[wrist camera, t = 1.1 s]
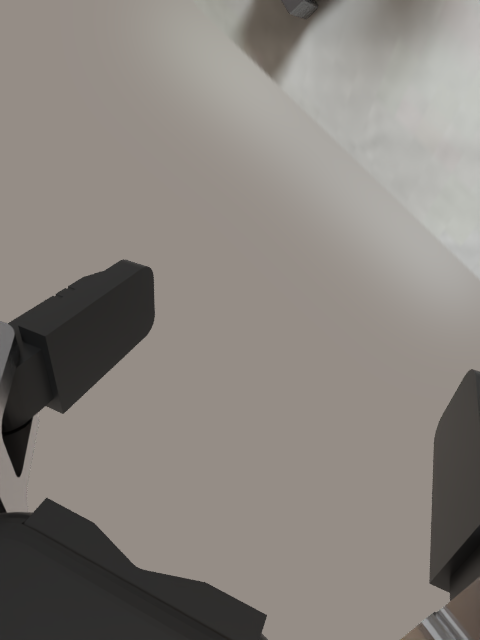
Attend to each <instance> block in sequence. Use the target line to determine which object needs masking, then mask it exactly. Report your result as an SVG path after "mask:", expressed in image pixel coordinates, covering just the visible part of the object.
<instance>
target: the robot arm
mask: <svg viewBox="0 0 480 640" xmlns="http://www.w3.org/2000/svg"><path fill="white" fill-rule="evenodd" d="M153 278H154V277H153V272H152V270H151V268H150V267H147V266H144V265H141V264H137V263H134V262H131V261H128V260H121V261H119V262H118V263H116V264H114V265H113V266H111V267H110V268H108V269H106V270H105V271H102V272H99V273H95V274H93V275H89V276H86V277H83V278H81V279H79V280H78V281H76V282H75V283H73V284H71V285H70V286H68V289H66V288H65V289H63V290H62V291H60V292H58V293H57V294H56V296H55V297H54V296H52V297H50V298H49V299H47V300H45V301H44V302H42V303H40V304H39V305H37V306H36V307H34V308H32V309H31V310H29V311H28V312H26V313H24V314H23V315H21V316H19V317H18V318H16V319H14V320H13V321H11V322H9V323H8V324H7V323H5V322H2V321H0V640H268V639H267V638H266V637H265V636H264V635H263V634H262V633H261V632H262V629H263V626H264V623H265V620H266V617H267V615H265V614H264V613H262V612H260V611H258V610H256V609H254V608H252V607H250V606H249V605H247V604H245V603H243V602H241V601H239V600H237V599H235V598H234V597H232V596H230V595H228V594H226V593H224V592H222V591H220V590H219V589H217V588H215V587H213V586H211V585H209V584H207V583H205V582H200V581H195V580H190V579H185V578H181V577H176V576H171V575H166V574H161V573H156V572H151V571H147V570H142V569H140V568H138V567H136V566H135V565H134V564H132V563H131V562H130V560H129V559H128V558H127V557H126V556H125V555H124V554H123V553H122V552H121V551H120V550H119V549H118V548H117V547H116V546H115V545H114V544H113V542H112V541H110V539H109V538H108V537H107V536H106V535H105V534H104V533H103V532H102V531H101V530H100V529H99V528H98V527H97V526H96V525H95V524H94V523H93V522H91V521H89V520H87V519H86V518H84V517H82V516H80V515H78V514H76V513H74V512H72V511H71V510H69V509H67V508H65V507H63V506H61V505H59V504H57V503H55V502H54V501H52V500H50V499H48V498H46V499H45V500H44V501H43V502H42V504H41V505H40V506H39V507H38V508H37V509H36V510H35V511H34V513H30V512H28V506H27V485H28V479H29V473H30V468H31V463H32V457H33V452H34V446H35V440H36V435H37V430H38V424H39V417H38V412H39V411H40V410H41V409H42V408H43V407H44V406H47V407H49V408H52V409H54V410H56V411H58V412H60V413H62V414H63V413H65V412H66V411H67V410H68V409H69V408H70V407H71V406H72V405H73V404H74V403H75V402H76V401H77V400H79V399H80V398H81V397H82V396H83V395H84V394H85V393H86V392H87V391H88V390H89V389H90V388H91V387H92V386H93V385H94V384H96V383H97V382H98V381H99V380H100V379H101V378H102V377H103V376H104V375H105V374H106V373H107V372H108V371H109V370H110V369H112V368H113V367H114V366H115V365H116V364H117V363H118V362H119V361H120V360H121V359H122V358H123V357H124V356H125V355H126V354H128V352H130V351H131V350H132V349H133V348H134V347H135V346H136V345H137V344H138V343H139V342H140V341H141V340H142V339H143V338H145V337H146V336H147V334H148V333H149V331H150V330H151V328H152V325H153V322H154V317H155V310H154V279H153ZM430 584H432V585H434V586H436V587H438V588H441V589H443V590H445V591H447V592H449V593H450V602H449V603H448V604H447V605H445V606H444V607H443V608H442V609H440V610H439V611H438V612H434V613H433V614H431V615H430V616H428V617H427V618H426V619H425V620H423V621H422V622H421V623H420V624H418V625H417V626H416V627H415V628H414V629H412V630H411V631H410V632H409V633H408V634H406V635H405V636H404V637H403V638H402V639H400V640H480V372H479V371H476V370H473V369H472V370H470V371H468V373H467V374H466V375H465V377H464V378H463V381H462V382H461V384H460V385H459V387H458V389H457V391H456V392H455V394H454V396H453V398H452V399H451V401H450V403H449V405H448V406H447V408H446V410H445V412H444V413H443V415H442V417H441V419H440V421H439V424H438V427H437V430H436V434H435V439H434V460H433V491H432V522H431V553H430Z"/></svg>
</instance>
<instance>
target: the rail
mask: <svg viewBox="0 0 480 640" xmlns="http://www.w3.org/2000/svg"><path fill="white" fill-rule="evenodd" d="M282 2H283V4H284V5H285V7H286V9H287V11H288V13H289V14H291V15H294V16H297V17H300V18H304V19H306V18H307V17H309V16H310V15H311V14H312V13H313V12H314V11H315V10H316V9H317V8H318V6H317V4H316V2H315V0H282Z"/></svg>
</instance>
